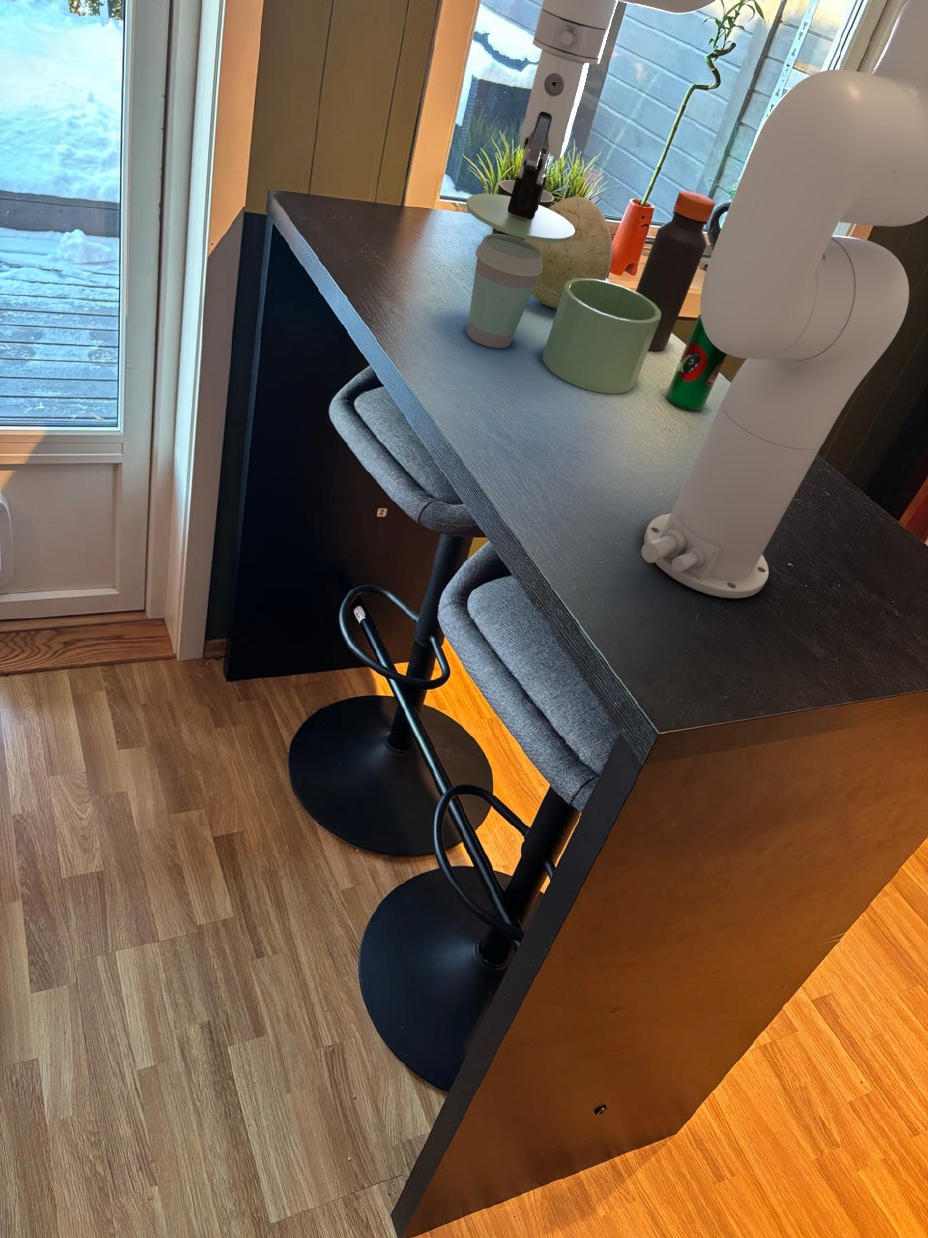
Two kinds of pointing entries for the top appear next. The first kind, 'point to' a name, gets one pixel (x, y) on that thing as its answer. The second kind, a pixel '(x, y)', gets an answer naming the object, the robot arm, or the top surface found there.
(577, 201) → the fossilized egg
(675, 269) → the bottle
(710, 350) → the soda can
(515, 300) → the coffee cup
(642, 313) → the green pot
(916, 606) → the top surface
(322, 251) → the top surface
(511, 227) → the green lid
